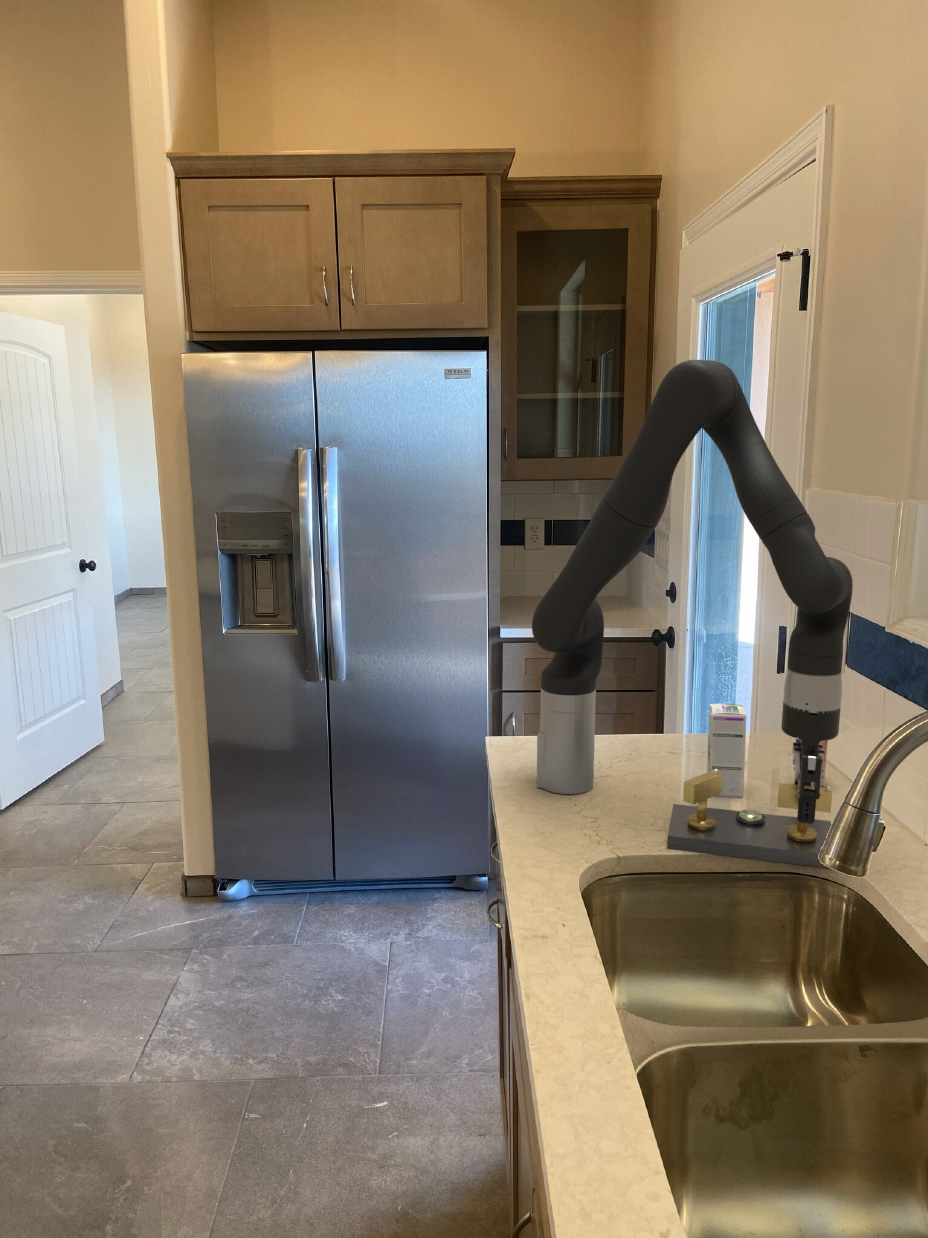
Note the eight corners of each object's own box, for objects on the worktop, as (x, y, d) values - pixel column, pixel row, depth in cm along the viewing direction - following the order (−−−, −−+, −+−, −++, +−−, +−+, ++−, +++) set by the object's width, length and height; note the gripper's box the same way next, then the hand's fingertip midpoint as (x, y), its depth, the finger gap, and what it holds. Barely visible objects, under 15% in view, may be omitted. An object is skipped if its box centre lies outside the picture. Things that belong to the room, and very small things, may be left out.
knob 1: (698, 835, 129) (701, 783, 128) (675, 826, 132) (677, 775, 131) (726, 822, 134) (729, 771, 132) (704, 814, 137) (706, 764, 135)
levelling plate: (667, 848, 130) (668, 829, 129) (673, 815, 141) (673, 797, 141) (837, 869, 123) (839, 849, 123) (829, 833, 135) (831, 814, 134)
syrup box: (743, 798, 148) (748, 714, 145) (706, 795, 149) (711, 712, 146) (740, 785, 153) (745, 704, 151) (704, 783, 155) (709, 702, 152)
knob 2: (776, 839, 128) (780, 786, 126) (775, 827, 132) (779, 776, 130) (828, 845, 126) (833, 791, 124) (826, 833, 130) (830, 781, 128)
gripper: (781, 686, 133) (774, 789, 136) (785, 713, 119) (777, 827, 122) (835, 689, 131) (827, 794, 134) (846, 718, 117) (836, 834, 120)
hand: (803, 810), depth 128 cm, fingers open, 8 cm apart
